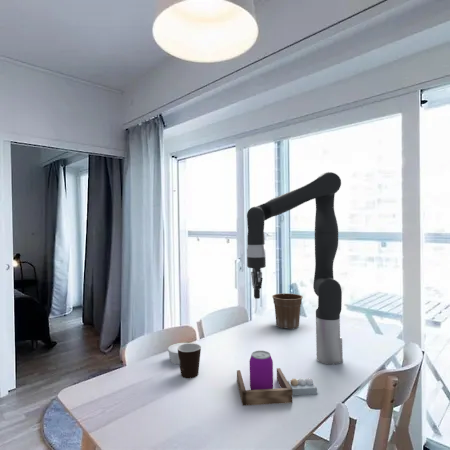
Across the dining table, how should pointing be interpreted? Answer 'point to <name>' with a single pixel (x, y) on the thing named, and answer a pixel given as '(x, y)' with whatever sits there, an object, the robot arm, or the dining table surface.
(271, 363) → the beverage can
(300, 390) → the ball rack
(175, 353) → the ramekin
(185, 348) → the coffee mug
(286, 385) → the walnut U-seat
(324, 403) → the dining table surface
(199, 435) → the dining table surface
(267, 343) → the dining table surface
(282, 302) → the plant pot
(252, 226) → the robot arm
